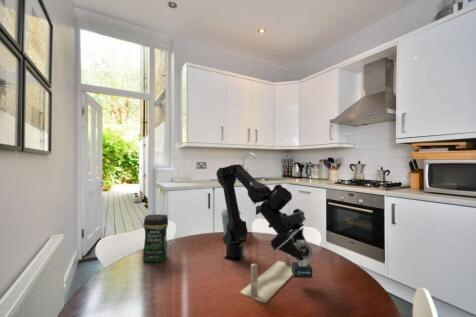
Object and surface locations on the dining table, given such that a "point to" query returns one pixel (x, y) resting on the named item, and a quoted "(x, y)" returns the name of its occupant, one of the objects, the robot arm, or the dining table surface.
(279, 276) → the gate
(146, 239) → the coffee jar
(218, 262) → the dining table surface
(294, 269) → the watch
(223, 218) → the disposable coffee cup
